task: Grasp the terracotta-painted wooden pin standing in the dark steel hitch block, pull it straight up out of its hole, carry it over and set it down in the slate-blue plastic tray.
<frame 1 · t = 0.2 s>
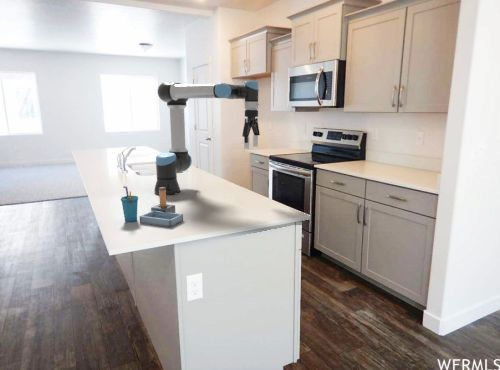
hand: (251, 147, 206), 28 cm above the table, fingers open, 13 cm apart
hitch block: (163, 214, 172), on the table
tray: (161, 221, 161), on the table
cup: (130, 220, 163), on the table
pin: (162, 201, 171), in the hitch block
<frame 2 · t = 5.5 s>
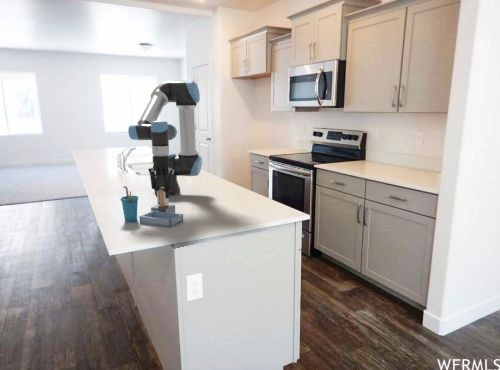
hand: (163, 204, 171), 5 cm above the table, fingers closed on pin, 3 cm apart
pin: (162, 201, 171), in the hitch block, touching gripper
everything else where it was.
when the fingers open (7 cm above the table, at t = 11.0 s): pin drops 2 cm, resting on tray.
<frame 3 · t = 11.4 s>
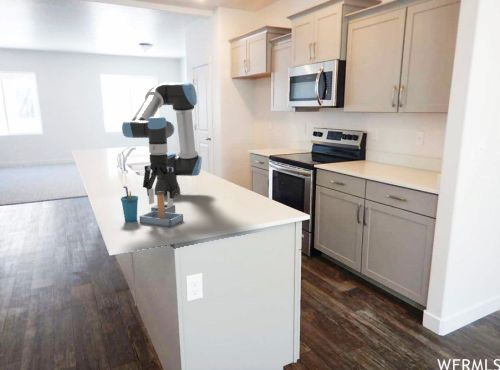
hand: (160, 204, 159), 8 cm above the table, fingers open, 9 cm apart
pin: (161, 206, 159), in the tray, point 7 cm above the table
everything else where it was.
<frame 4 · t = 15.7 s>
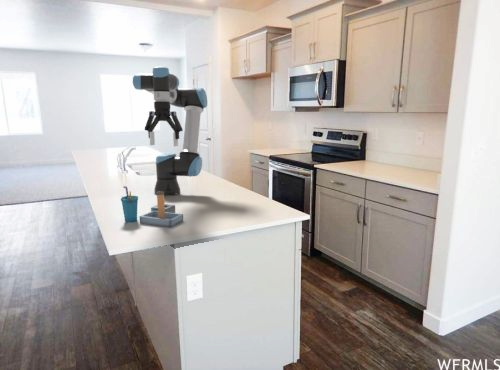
hand: (164, 145, 176), 32 cm above the table, fingers open, 13 cm apart
nothing on the table moved.
at the end: pin inside the target area on the tray (0.0 cm from its centre), point 7.1 cm above the tray's base; the gripper is holding nothing; pin touching tray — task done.
